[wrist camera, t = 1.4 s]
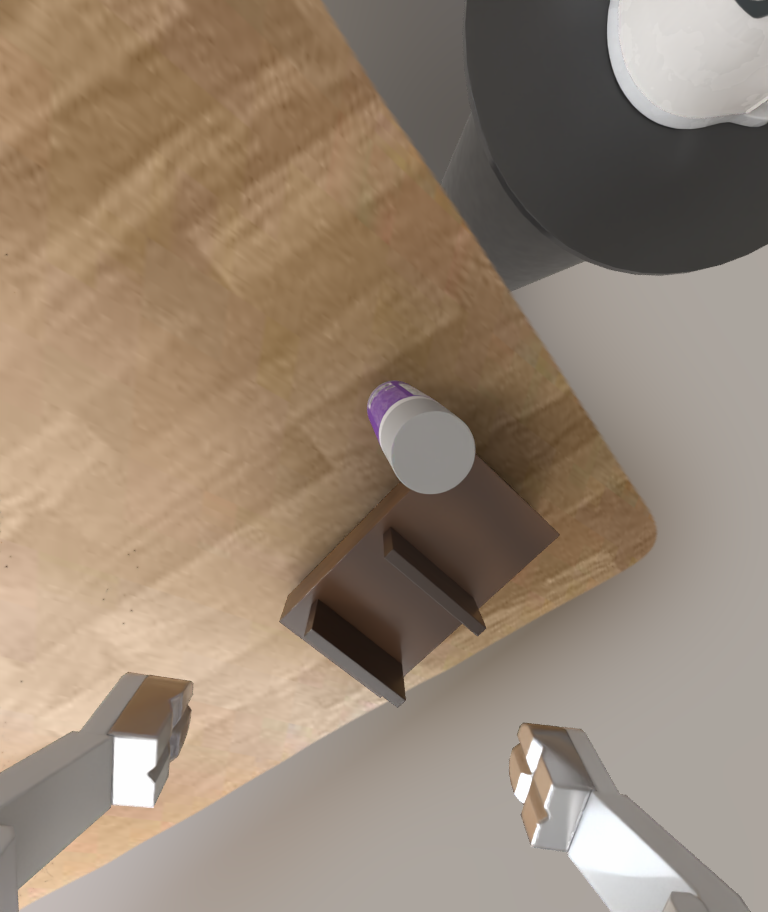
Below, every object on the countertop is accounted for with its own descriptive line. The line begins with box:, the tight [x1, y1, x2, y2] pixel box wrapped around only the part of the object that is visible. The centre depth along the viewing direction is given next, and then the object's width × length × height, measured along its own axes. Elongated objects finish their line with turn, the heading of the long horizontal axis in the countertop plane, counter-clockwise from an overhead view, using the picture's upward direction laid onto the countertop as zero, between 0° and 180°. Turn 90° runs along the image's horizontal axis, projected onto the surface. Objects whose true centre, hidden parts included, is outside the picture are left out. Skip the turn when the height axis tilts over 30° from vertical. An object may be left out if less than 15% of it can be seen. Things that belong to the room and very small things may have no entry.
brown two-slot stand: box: [279, 453, 560, 707], centre depth 36 cm, size 22×12×8 cm, turn 137°
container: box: [367, 381, 475, 494], centre depth 29 cm, size 5×5×15 cm
